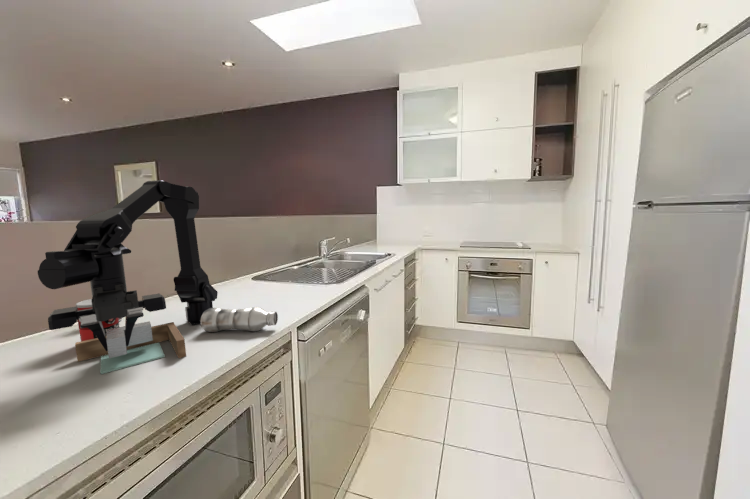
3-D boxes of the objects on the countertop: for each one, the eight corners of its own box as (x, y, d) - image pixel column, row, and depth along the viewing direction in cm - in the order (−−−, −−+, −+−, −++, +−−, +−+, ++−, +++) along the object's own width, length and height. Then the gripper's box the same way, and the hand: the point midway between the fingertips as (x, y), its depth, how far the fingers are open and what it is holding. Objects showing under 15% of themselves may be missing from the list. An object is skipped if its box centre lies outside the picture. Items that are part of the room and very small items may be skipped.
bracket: (108, 346, 72) (106, 329, 71) (151, 336, 77) (149, 321, 76) (108, 358, 66) (106, 340, 65) (155, 347, 71) (153, 330, 70)
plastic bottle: (213, 317, 91) (281, 316, 91) (203, 337, 86) (275, 335, 85) (204, 302, 87) (275, 301, 87) (193, 322, 82) (269, 320, 81)
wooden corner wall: (175, 336, 83) (173, 321, 83) (186, 356, 71) (184, 339, 71) (78, 359, 71) (75, 342, 71) (72, 387, 59) (69, 367, 59)
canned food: (98, 349, 76) (92, 305, 75) (72, 347, 78) (66, 304, 77) (128, 337, 84) (123, 297, 82) (104, 335, 85) (99, 296, 84)
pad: (159, 343, 79) (158, 342, 79) (164, 357, 71) (164, 355, 71) (101, 357, 72) (101, 356, 72) (100, 374, 64) (100, 372, 64)
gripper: (37, 292, 54) (51, 377, 56) (165, 276, 66) (173, 346, 68) (46, 282, 63) (58, 356, 65) (159, 269, 75) (166, 332, 77)
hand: (117, 347), depth 68 cm, fingers closed on bracket, 3 cm apart
